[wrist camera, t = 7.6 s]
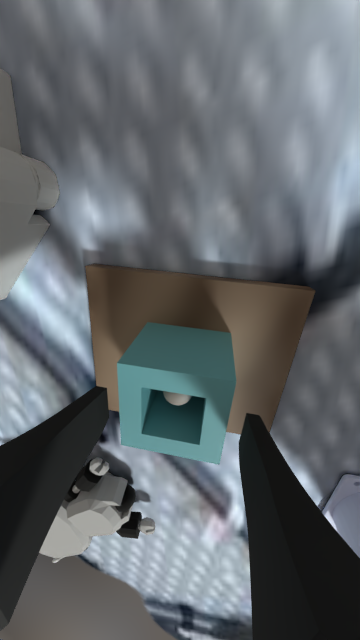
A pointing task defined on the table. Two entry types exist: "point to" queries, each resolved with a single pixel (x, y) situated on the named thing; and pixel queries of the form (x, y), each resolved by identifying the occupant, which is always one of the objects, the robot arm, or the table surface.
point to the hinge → (19, 194)
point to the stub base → (201, 327)
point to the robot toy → (94, 512)
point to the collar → (177, 391)
